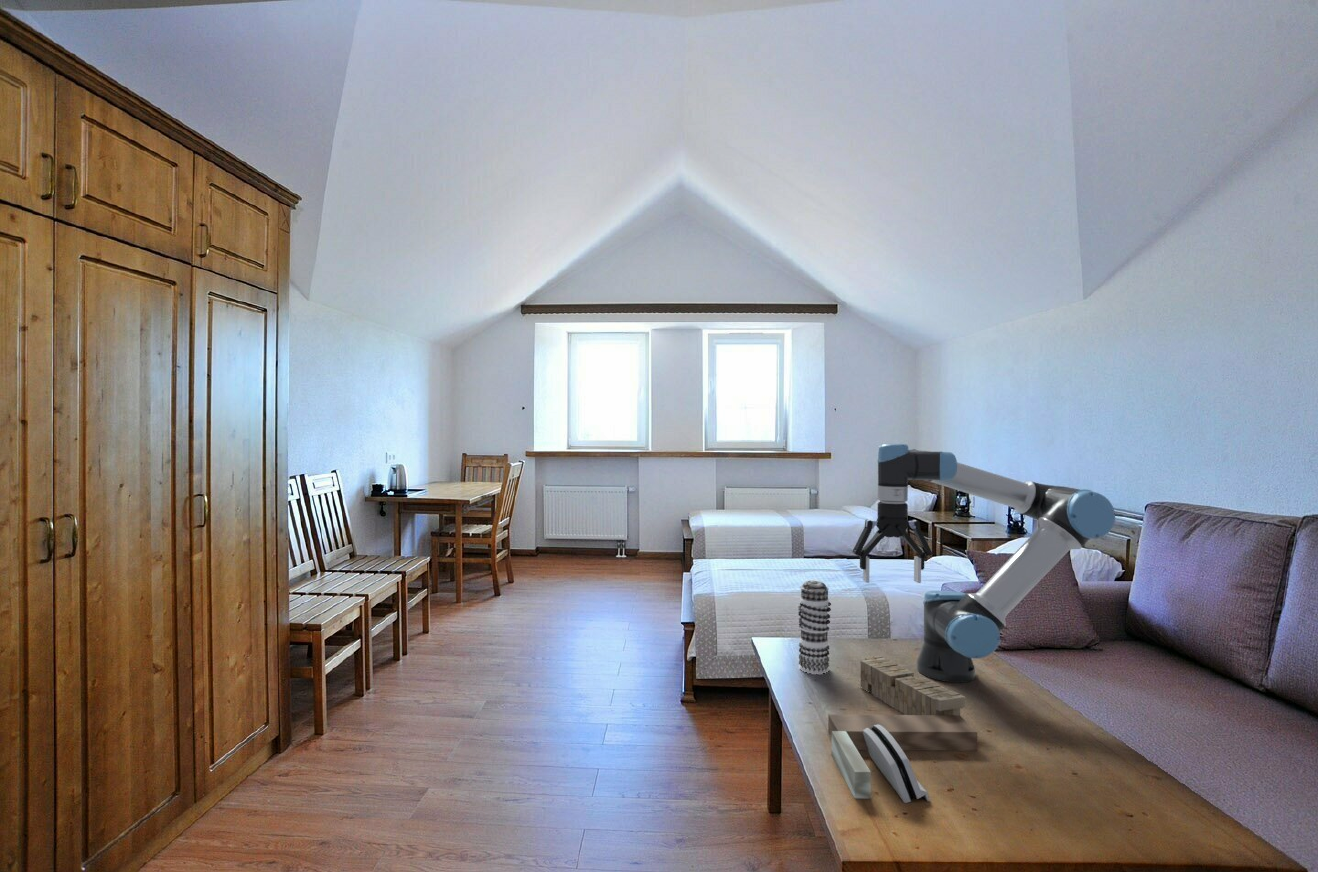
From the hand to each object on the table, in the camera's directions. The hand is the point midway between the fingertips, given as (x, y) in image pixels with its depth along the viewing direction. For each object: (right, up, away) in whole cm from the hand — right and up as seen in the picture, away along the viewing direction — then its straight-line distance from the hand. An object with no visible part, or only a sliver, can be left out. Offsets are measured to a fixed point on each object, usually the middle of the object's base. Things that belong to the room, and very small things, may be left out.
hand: (891, 581), depth 168 cm
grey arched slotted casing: (-16, -30, -43) cm, 54 cm away
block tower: (0, -29, -10) cm, 31 cm away
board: (-9, -29, -37) cm, 48 cm away
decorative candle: (-17, -29, +14) cm, 36 cm away
